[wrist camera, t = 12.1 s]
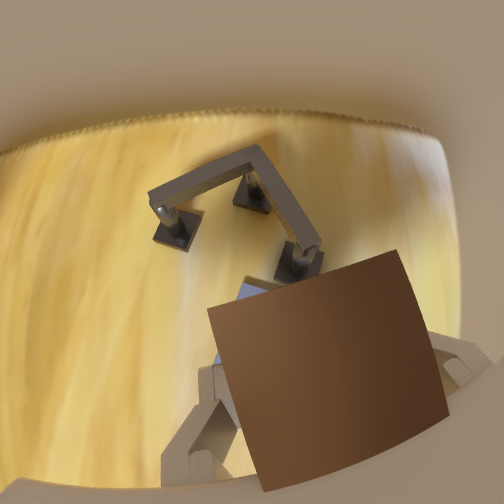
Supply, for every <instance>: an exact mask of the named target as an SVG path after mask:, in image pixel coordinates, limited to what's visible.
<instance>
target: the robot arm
mask: <svg viewBox="0 0 504 504" xmlns="http://www.w3.org/2000/svg"><path fill="white" fill-rule="evenodd" d="M427 332H428V335H429V338H430V341H431V344H432V348H433V351H434V354H435V358H436V361H437V365H438V368H439V372H440V376H441V380H442V384H443V388H444V392H445V396H446V400H447V405H448V409H449V414H450V416H448V417H447V418H445V419H444V420H442V421H440V422H439V423H437V424H435V425H434V426H432V427H430V428H429V429H427V430H425V431H423V432H422V433H420V434H418V435H416V436H414V437H413V438H411V439H409V440H407V441H405V442H403V443H401V444H399V445H397V446H395V447H393V448H391V449H389V450H387V451H385V452H382V453H380V454H378V455H376V456H374V457H371V458H369V459H367V460H364V461H362V462H360V463H357V464H355V465H352V466H350V467H347V468H345V469H342V470H339V471H336V472H334V473H331V474H328V475H325V476H322V477H319V478H316V479H313V480H310V481H306V482H303V483H300V484H296V485H293V486H289V487H285V488H281V489H277V490H273V491H269V492H265V493H264V491H263V488H262V486H261V483H260V480H259V477H258V475H257V474H253V475H249V476H244V477H239V478H233V477H232V476H231V474H230V473H229V472H228V471H227V470H226V469H225V468H224V466H223V465H222V464H223V462H224V460H225V458H226V455H227V453H228V451H229V449H230V446H231V444H232V442H233V440H234V437H235V435H236V433H237V429H239V428H241V425H240V422H239V419H238V416H237V412H236V409H235V406H234V403H233V400H232V396H231V393H230V390H229V387H228V383H227V380H226V376H225V373H224V370H223V366H222V363H219V364H214V365H211V366H207V367H202V368H199V370H198V388H199V404H198V405H195V406H194V408H193V409H192V411H191V412H190V414H189V415H188V417H187V418H186V420H185V421H184V423H183V424H182V425H181V427H180V428H179V430H178V431H177V433H176V434H175V436H174V437H173V439H172V440H171V442H170V443H169V444H168V446H167V447H166V449H165V450H164V452H163V453H162V454H161V487H159V488H98V487H83V486H73V485H64V484H56V483H50V482H43V481H38V480H32V479H28V478H17V479H15V480H14V481H13V482H11V483H10V484H9V485H8V486H7V487H6V488H5V489H4V490H3V491H2V492H1V493H0V504H504V356H503V357H502V358H500V359H499V360H498V361H497V362H495V363H493V362H492V361H491V360H490V359H489V358H488V357H487V356H486V355H485V354H484V353H483V352H482V351H481V350H480V349H479V348H478V347H477V346H476V345H475V344H474V343H471V342H467V341H463V340H459V339H456V338H452V337H448V336H445V335H441V334H437V333H434V332H430V331H427Z"/></svg>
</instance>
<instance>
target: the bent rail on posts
mask: <svg viewBox="0 0 504 504" xmlns="http://www.w3.org/2000/svg"><path fill="white" fill-rule="evenodd" d="M242 175H243V178H242V180H241V182H240V185H239V187H238V189H237V192H236V194H235V196H234V199H233V205H236V206H240V207H243V208H247V209H250V210H254V211H258V212H261V213H265V214H269V212H270V209H271V206H272V208H273V209H274V211H275V213H276V214H277V216H278V218H279V219H280V221H281V223H282V224H283V226H284V228H285V229H286V231H287V233H288V235H289V236H290V238H291V240H292V241H293V243H291V242H288V241H286V242H285V246H284V249H283V252H282V255H281V258H280V261H279V264H278V267H277V270H276V273H275V276H274V280H275V281H278V282H282V283H285V284H288V285H290V284H293V283H296V282H299V281H302V280H306V279H309V278H312V277H315V276H318V274H319V270H320V267H321V263H322V259H323V255H324V252H321V251H318V250H317V249H318V248H319V246H320V243H321V239H320V237H319V236H318V234H317V233H316V231H315V229H314V228H313V226H312V225H311V223H310V221H309V220H308V218H307V217H306V215H305V213H304V212H303V210H302V209H301V207H300V206H299V204H298V202H297V201H296V199H295V198H294V196H293V195H292V193H291V192H290V190H289V189H288V187H287V185H286V184H285V182H284V181H283V179H282V178H281V176H280V175H279V173H278V172H277V170H276V169H275V167H274V166H273V164H272V163H271V162H270V160H269V159H268V157H267V156H266V154H265V153H264V151H263V150H262V148H261V147H260V146H259V145H257V144H255V145H252V146H249V147H247V148H244V149H242V150H239V151H237V152H235V153H232V154H230V155H227V156H225V157H223V158H220V159H218V160H215V161H213V162H211V163H209V164H206V165H204V166H202V167H199V168H197V169H195V170H193V171H191V172H188V173H186V174H184V175H182V176H180V177H178V178H175V179H173V180H171V181H169V182H167V183H165V184H163V185H161V186H159V187H157V188H155V189H153V190H151V191H149V192H148V195H149V198H150V200H149V204H150V206H151V208H152V209H153V211H154V212H155V214H156V215H157V216H158V218H159V219H160V221H161V222H160V224H159V226H158V228H157V231H156V233H155V235H154V237H153V240H154V241H155V242H157V243H160V244H163V245H166V246H169V247H172V248H175V249H178V250H181V251H184V252H188V250H189V248H190V245H191V243H192V241H193V238H194V236H195V234H196V231H197V229H198V227H199V224H200V222H201V220H202V219H201V217H200V216H198V215H195V214H191V213H188V212H184V211H180V210H177V209H175V207H174V206H176V205H178V204H180V203H182V202H185V201H187V200H189V199H191V198H193V197H195V196H197V195H200V194H202V193H204V192H206V191H208V190H210V189H213V188H215V187H217V186H219V185H222V184H224V183H226V182H228V181H231V180H233V179H235V178H238V177H240V176H242Z"/></svg>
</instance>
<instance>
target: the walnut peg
mask: <svg viewBox="0 0 504 504" xmlns="http://www.w3.org/2000/svg"><path fill="white" fill-rule="evenodd" d="M207 312H208V315H209V319H210V323H211V327H212V330H213V334H214V338H215V341H216V345H217V349H218V352H219V356H220V359H221V363H222V366H223V370H224V373H225V376H226V380H227V383H228V387H229V390H230V393H231V396H232V400H233V403H234V406H235V409H236V412H237V416H238V419H239V422H240V425H241V428H242V431H243V434H244V437H245V440H246V443H247V446H248V449H249V452H250V455H251V458H252V461H253V463H254V466H255V469H256V472H257V475H258V477H259V480H260V483H261V486H262V488H263V491H264V493H265V492H269V491H273V490H277V489H281V488H285V487H289V486H293V485H296V484H300V483H303V482H306V481H310V480H313V479H316V478H319V477H322V476H325V475H328V474H331V473H334V472H336V471H339V470H342V469H345V468H347V467H350V466H352V465H355V464H357V463H360V462H362V461H364V460H367V459H369V458H371V457H374V456H376V455H378V454H380V453H382V452H385V451H387V450H389V449H391V448H393V447H395V446H397V445H399V444H401V443H403V442H405V441H407V440H409V439H411V438H413V437H414V436H416V435H418V434H420V433H422V432H423V431H425V430H427V429H429V428H430V427H432V426H434V425H435V424H437V423H439V422H440V421H442V420H444V419H445V418H447V417H448V416H450V414H449V409H448V405H447V400H446V396H445V392H444V388H443V384H442V380H441V376H440V372H439V368H438V365H437V361H436V358H435V354H434V351H433V348H432V344H431V341H430V338H429V335H428V332H427V329H426V326H425V323H424V320H423V317H422V314H421V311H420V308H419V305H418V303H417V300H416V297H415V294H414V292H413V289H412V287H411V284H410V281H409V279H408V276H407V274H406V271H405V269H404V266H403V264H402V262H401V259H400V257H399V255H398V252H397V250H396V249H395V250H392V251H389V252H387V253H384V254H381V255H378V256H375V257H372V258H369V259H366V260H363V261H361V262H358V263H355V264H352V265H349V266H346V267H343V268H340V269H337V270H333V271H330V272H327V273H324V274H321V275H318V276H315V277H312V278H309V279H306V280H302V281H299V282H296V283H293V284H290V285H286V286H283V287H280V288H277V289H273V290H270V291H267V292H263V293H260V294H257V295H253V296H250V297H246V298H243V299H240V300H236V301H233V302H229V303H226V304H222V305H219V306H215V307H212V308H208V309H207Z"/></svg>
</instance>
